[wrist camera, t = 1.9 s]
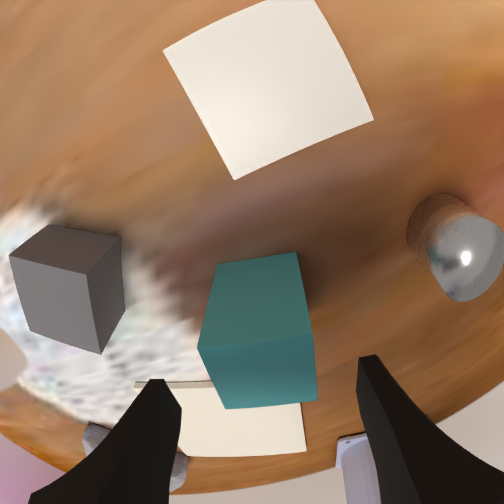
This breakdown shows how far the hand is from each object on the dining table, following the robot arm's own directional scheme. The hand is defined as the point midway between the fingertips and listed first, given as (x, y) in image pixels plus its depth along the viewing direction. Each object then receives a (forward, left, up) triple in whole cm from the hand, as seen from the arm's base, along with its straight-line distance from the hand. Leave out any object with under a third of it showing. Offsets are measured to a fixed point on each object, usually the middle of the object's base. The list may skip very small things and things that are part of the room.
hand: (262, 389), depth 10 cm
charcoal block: (+10, -3, -7) cm, 12 cm away
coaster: (+5, +13, -7) cm, 15 cm away
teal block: (0, 0, -7) cm, 7 cm away
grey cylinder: (-10, -2, -7) cm, 12 cm away
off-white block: (-2, -10, -7) cm, 12 cm away
